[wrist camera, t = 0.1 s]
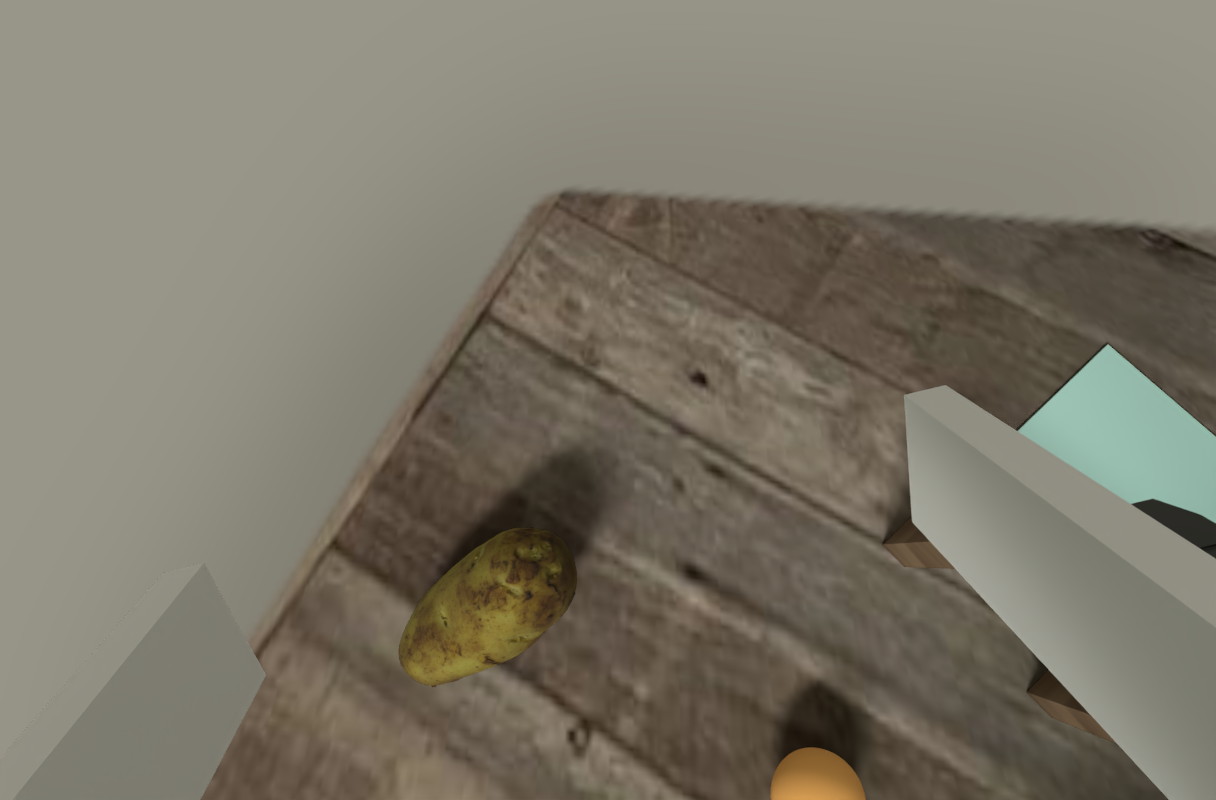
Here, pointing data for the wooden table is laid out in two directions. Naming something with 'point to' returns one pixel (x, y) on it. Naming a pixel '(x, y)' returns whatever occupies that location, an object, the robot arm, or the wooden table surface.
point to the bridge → (1048, 689)
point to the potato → (489, 606)
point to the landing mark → (1129, 436)
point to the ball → (815, 777)
